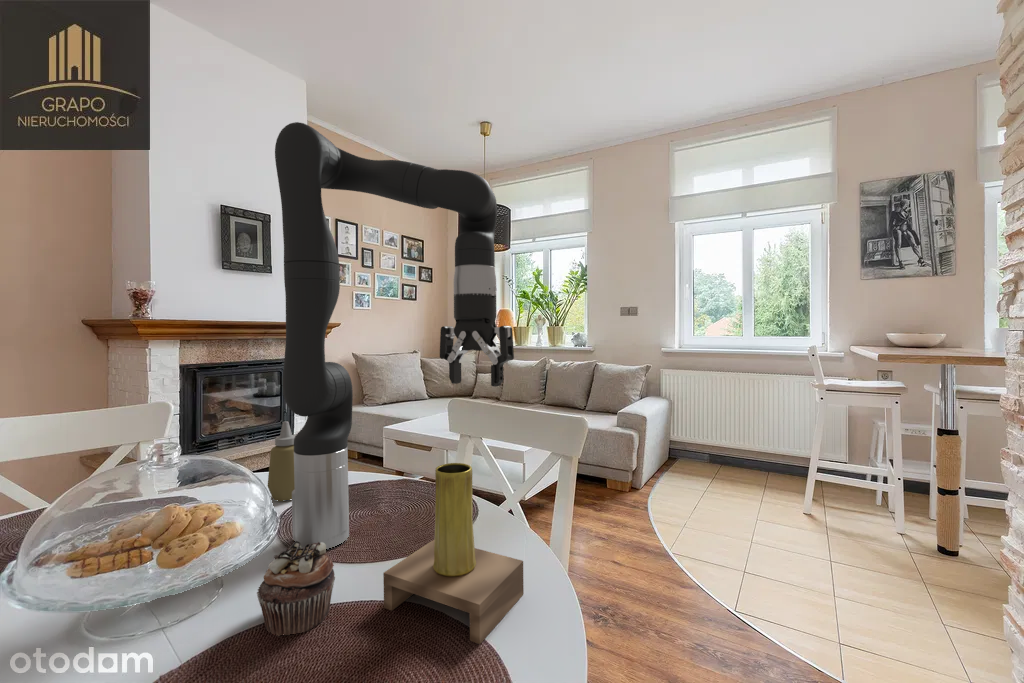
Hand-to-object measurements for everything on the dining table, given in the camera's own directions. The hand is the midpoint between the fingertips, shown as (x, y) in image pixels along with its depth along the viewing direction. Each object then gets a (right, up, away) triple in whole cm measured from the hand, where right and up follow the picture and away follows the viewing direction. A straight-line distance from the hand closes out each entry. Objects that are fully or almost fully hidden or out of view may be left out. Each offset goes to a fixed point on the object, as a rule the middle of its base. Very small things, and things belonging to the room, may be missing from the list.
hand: (475, 384), depth 80 cm
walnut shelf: (-2, -30, -15) cm, 33 cm away
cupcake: (-23, -30, -18) cm, 42 cm away
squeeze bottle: (-47, -29, +26) cm, 61 cm away
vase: (-2, -25, -15) cm, 29 cm away
